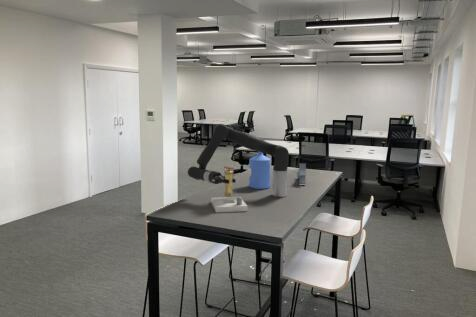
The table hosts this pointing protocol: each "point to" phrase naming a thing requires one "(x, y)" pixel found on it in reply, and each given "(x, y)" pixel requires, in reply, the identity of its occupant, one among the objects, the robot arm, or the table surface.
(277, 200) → the table surface
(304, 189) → the table surface
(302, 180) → the faucet
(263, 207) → the table surface
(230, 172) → the valve
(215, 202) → the plate
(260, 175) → the water jug
